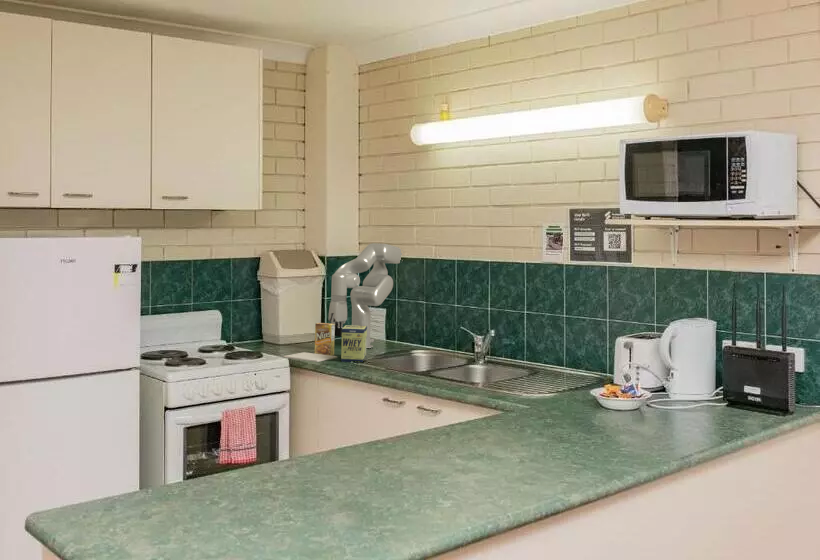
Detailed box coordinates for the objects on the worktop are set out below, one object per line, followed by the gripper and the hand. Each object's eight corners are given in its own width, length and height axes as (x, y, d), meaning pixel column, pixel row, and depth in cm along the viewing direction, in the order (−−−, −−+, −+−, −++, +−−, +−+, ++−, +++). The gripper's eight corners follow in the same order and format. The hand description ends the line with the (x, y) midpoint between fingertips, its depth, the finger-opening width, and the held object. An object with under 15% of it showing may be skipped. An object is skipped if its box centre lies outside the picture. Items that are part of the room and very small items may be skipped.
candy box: (314, 354, 437) (314, 323, 436) (318, 353, 441) (318, 322, 440) (330, 356, 434) (331, 324, 433) (334, 355, 438) (335, 323, 437)
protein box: (340, 362, 418) (341, 328, 417) (344, 356, 433) (345, 324, 432) (363, 362, 417) (364, 329, 416) (366, 357, 433) (367, 325, 432)
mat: (304, 353, 440) (304, 352, 440) (337, 357, 430) (337, 356, 430) (283, 357, 426) (283, 356, 426) (317, 361, 416) (317, 360, 416)
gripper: (341, 297, 453) (340, 333, 455) (323, 299, 441) (322, 336, 442) (353, 298, 449) (352, 335, 451) (336, 300, 437) (335, 338, 438)
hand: (337, 335), depth 446 cm, fingers closed
